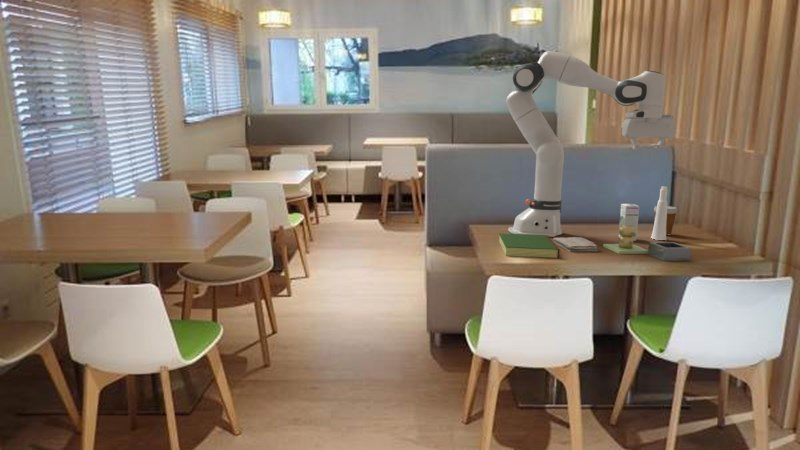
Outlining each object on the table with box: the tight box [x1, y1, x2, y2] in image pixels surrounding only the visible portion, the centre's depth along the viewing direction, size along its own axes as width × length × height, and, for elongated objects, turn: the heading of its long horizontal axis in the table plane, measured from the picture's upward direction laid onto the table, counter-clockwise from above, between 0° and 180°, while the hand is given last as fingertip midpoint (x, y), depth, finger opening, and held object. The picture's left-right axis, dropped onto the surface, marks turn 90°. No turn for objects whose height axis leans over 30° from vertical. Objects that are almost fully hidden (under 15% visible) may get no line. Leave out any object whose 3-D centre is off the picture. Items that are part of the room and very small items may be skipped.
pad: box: [602, 243, 649, 255], centre depth 224 cm, size 12×12×1 cm
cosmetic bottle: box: [650, 185, 669, 241], centre depth 244 cm, size 6×6×22 cm
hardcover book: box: [498, 232, 561, 259], centre depth 221 cm, size 25×19×4 cm
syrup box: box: [617, 203, 640, 242], centre depth 243 cm, size 6×6×14 cm
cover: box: [618, 225, 636, 249], centre depth 223 cm, size 6×6×8 cm
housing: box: [647, 241, 692, 262], centre depth 214 cm, size 10×10×4 cm
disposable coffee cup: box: [653, 205, 678, 235], centre depth 256 cm, size 10×10×12 cm
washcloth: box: [552, 236, 599, 253], centre depth 227 cm, size 12×18×3 cm, turn 9°
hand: (646, 149), depth 234 cm, fingers open, 8 cm apart
